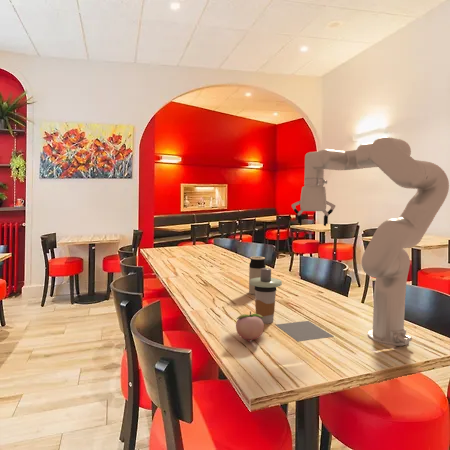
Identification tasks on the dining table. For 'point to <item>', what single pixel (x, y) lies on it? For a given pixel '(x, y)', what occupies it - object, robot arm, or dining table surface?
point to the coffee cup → (265, 303)
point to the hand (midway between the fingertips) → (312, 225)
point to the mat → (304, 331)
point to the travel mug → (255, 270)
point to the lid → (265, 279)
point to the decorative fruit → (249, 326)
